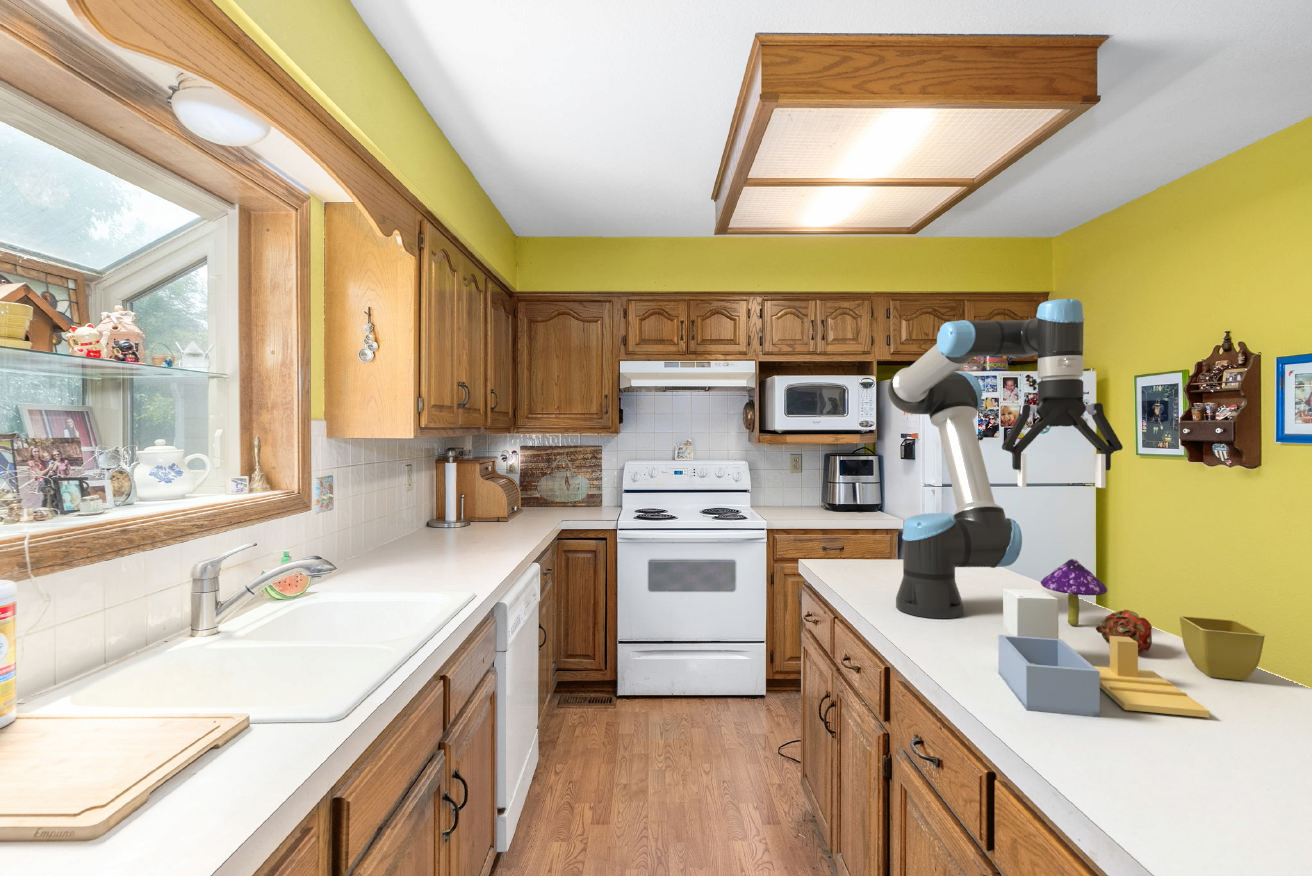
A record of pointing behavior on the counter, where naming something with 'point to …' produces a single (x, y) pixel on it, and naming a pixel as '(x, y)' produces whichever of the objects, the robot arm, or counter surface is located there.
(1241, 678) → the flower pot
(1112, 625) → the dragon fruit
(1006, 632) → the supplement box
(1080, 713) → the tub
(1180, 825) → the counter surface
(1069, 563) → the decorative mushroom
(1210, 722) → the counter surface
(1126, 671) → the lid
